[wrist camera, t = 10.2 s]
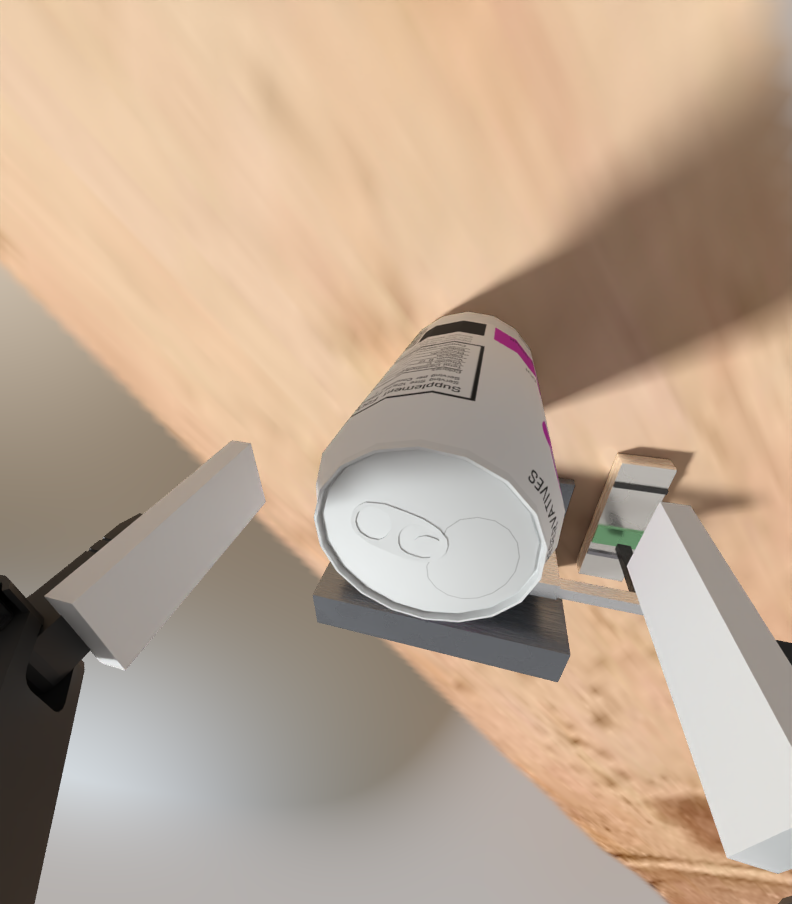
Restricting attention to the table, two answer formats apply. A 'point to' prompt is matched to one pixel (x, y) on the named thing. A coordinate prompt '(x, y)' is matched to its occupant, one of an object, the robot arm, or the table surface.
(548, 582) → the gauge plunger
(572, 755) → the table surface
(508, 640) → the gauge housing
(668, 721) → the table surface
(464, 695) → the table surface
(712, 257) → the table surface
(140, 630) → the robot arm
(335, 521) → the supplement can
